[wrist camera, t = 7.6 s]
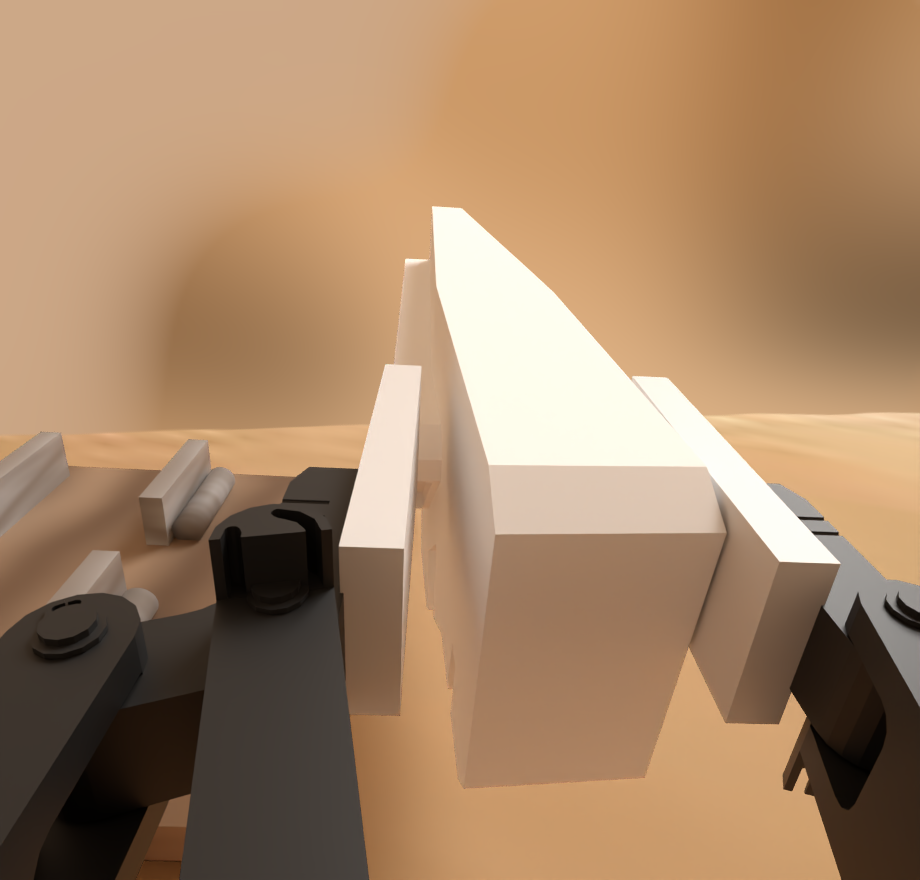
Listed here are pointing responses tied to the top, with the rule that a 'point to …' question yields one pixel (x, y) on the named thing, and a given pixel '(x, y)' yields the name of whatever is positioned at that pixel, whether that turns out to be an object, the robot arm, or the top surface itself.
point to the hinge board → (118, 543)
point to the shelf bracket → (546, 523)
